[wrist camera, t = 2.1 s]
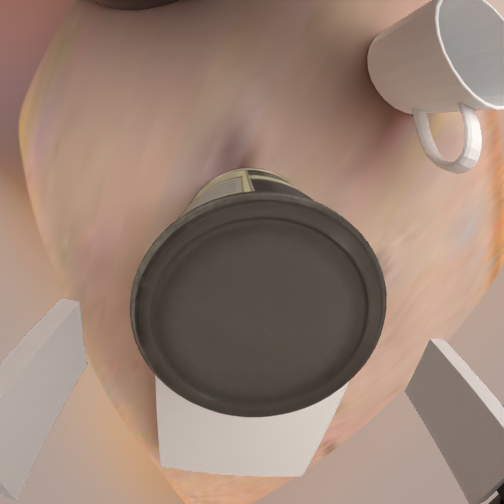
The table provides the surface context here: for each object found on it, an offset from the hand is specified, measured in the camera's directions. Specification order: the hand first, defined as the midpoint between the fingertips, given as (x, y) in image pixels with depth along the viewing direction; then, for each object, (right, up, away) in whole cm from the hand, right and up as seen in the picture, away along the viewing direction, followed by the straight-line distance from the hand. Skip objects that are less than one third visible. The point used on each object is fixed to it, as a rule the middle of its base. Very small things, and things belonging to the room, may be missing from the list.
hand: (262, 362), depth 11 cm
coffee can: (-1, +5, +15) cm, 16 cm away
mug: (+12, +17, +12) cm, 24 cm away
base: (-2, -12, +20) cm, 24 cm away
